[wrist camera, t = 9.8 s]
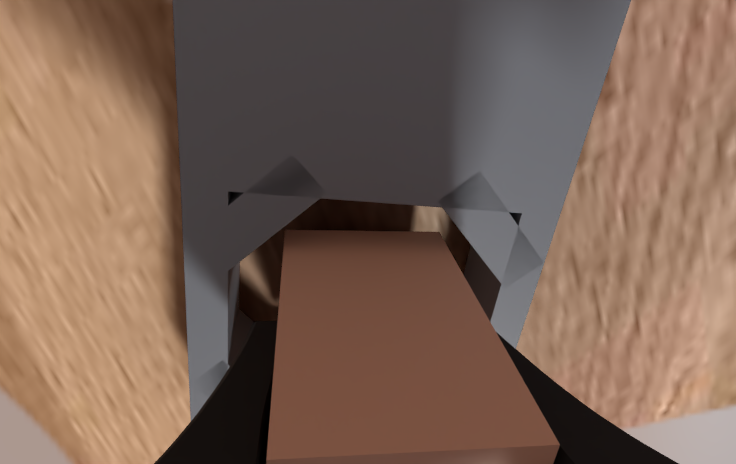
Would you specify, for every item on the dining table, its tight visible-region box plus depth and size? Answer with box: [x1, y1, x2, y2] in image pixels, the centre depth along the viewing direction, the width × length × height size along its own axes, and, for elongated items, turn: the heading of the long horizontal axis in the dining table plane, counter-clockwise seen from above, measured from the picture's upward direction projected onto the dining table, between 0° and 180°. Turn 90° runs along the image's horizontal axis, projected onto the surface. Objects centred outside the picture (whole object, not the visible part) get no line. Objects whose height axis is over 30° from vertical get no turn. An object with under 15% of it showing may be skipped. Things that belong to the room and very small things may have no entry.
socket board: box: [173, 0, 631, 421], centre depth 12 cm, size 16×9×2 cm, turn 173°
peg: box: [266, 230, 560, 464], centre depth 11 cm, size 4×4×7 cm
